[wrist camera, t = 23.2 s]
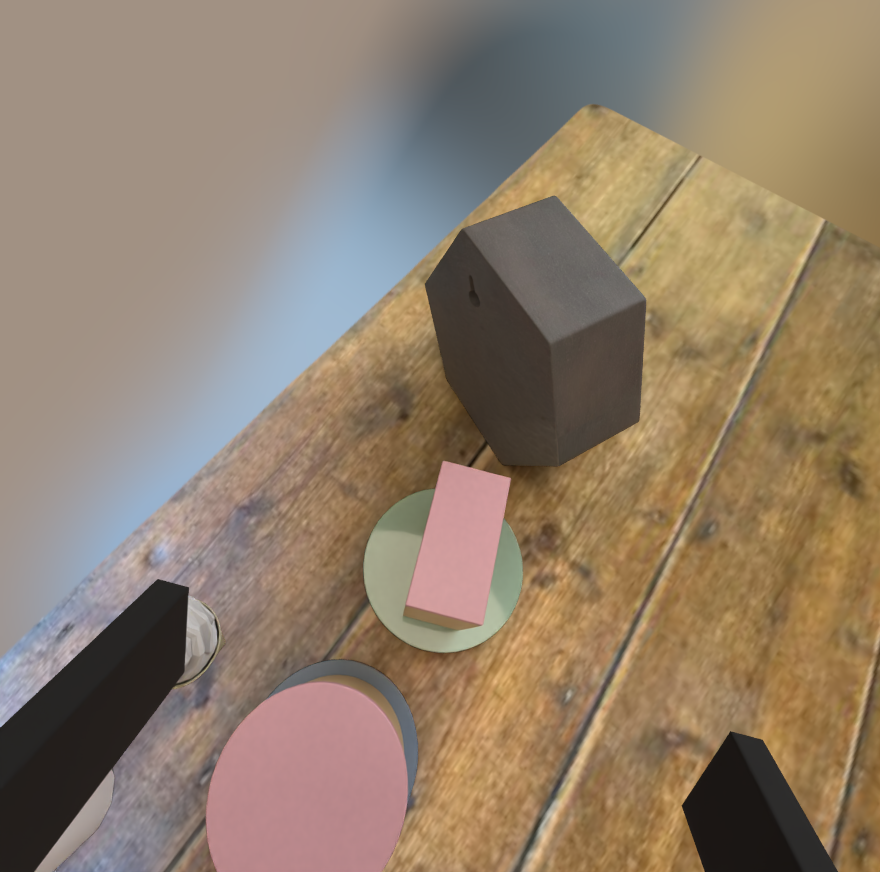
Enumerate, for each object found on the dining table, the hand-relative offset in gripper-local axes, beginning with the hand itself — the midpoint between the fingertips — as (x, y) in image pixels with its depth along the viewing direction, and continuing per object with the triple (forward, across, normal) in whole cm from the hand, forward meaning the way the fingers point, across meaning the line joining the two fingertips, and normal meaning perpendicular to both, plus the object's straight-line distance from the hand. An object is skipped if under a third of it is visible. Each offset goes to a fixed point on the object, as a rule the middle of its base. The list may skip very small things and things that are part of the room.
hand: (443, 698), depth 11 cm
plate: (+24, +1, -14) cm, 28 cm away
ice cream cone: (+18, -14, -21) cm, 31 cm away
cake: (+14, -4, -24) cm, 28 cm away
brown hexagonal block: (+36, +3, -2) cm, 37 cm away
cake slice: (+24, +1, -13) cm, 27 cm away
